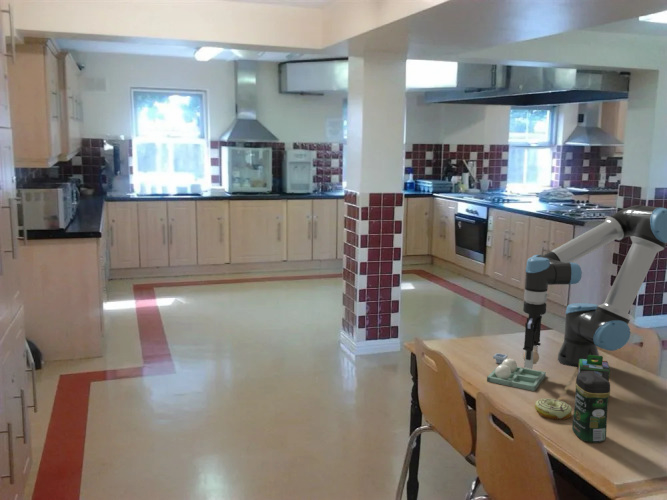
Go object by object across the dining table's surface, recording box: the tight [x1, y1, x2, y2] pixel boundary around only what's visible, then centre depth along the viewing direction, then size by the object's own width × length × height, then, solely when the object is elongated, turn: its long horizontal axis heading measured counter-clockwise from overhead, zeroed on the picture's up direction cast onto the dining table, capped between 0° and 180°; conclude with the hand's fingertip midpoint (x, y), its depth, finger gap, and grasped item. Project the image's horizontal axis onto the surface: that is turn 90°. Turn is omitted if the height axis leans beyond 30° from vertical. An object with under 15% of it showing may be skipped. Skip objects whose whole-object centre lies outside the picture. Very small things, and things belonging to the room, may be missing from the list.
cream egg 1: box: [501, 357, 518, 373], centre depth 223 cm, size 5×5×5 cm
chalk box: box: [577, 355, 611, 382], centre depth 205 cm, size 9×9×15 cm
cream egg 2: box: [494, 364, 511, 380], centre depth 217 cm, size 5×5×5 cm
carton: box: [486, 363, 547, 392], centre depth 218 cm, size 16×16×2 cm
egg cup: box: [492, 352, 508, 364], centre depth 235 cm, size 4×4×4 cm
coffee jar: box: [571, 371, 611, 444], centre depth 176 cm, size 10×8×19 cm
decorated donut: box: [534, 397, 573, 421], centre depth 192 cm, size 10×11×4 cm
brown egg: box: [522, 350, 540, 365], centre depth 218 cm, size 5×5×5 cm
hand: (530, 365), depth 219 cm, fingers closed on brown egg, 5 cm apart
